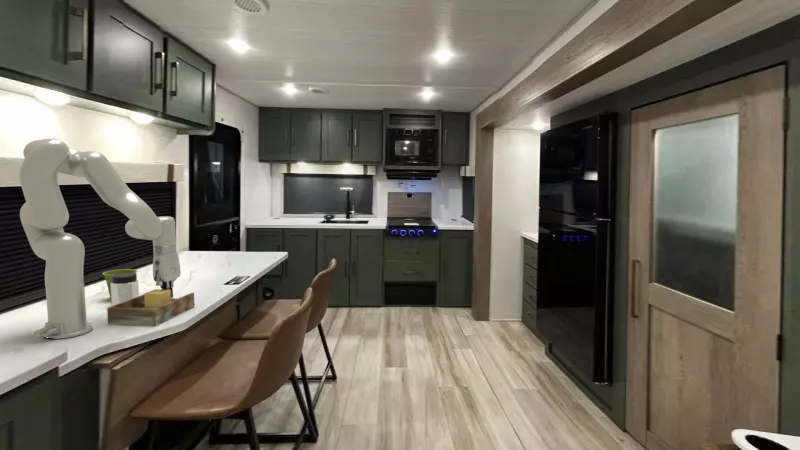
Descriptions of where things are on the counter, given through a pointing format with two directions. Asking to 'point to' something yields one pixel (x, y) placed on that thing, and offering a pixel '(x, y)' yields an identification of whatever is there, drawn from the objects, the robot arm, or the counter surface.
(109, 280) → the plant pot
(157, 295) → the block
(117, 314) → the wooden tray
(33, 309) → the counter surface
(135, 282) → the jar
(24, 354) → the counter surface
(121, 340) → the counter surface
